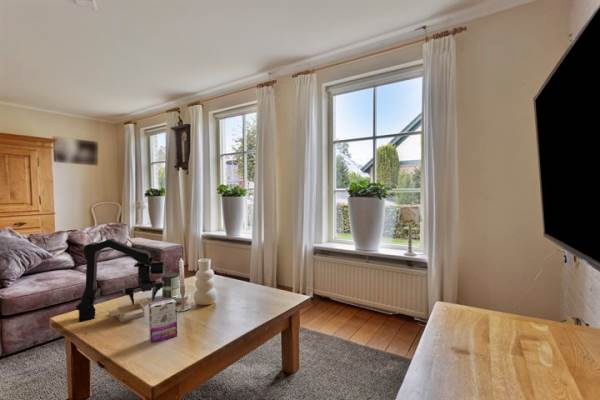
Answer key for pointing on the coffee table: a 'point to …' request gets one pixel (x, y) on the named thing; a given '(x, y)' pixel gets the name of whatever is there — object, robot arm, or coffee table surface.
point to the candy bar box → (162, 320)
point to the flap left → (125, 302)
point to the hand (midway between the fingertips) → (143, 302)
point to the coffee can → (170, 285)
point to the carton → (128, 312)
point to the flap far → (145, 302)
